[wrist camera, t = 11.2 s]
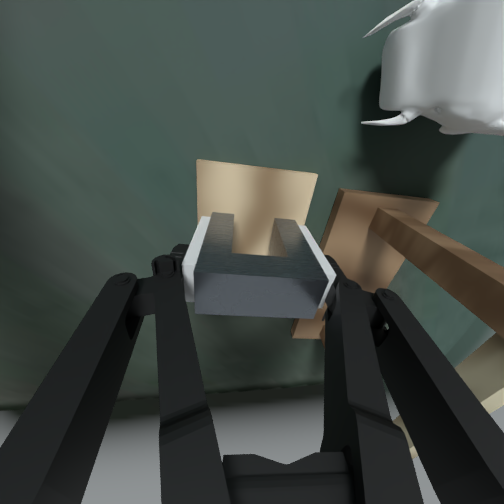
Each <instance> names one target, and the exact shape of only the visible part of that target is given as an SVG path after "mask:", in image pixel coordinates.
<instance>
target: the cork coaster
mask: <svg viewBox="0 0 504 504" xmlns="http://www.w3.org/2000/svg"><path fill="white" fill-rule="evenodd" d="M317 177H318V175H317V174H316V173H307V172H299V171H291V170H283V169H274V168H266V167H258V166H249V165H241V164H233V163H225V162H216V161H208V160H200V159H198V160H197V207H198V224H199V222H200V219H201V217H202V216H206V217H211V215H212V212H218V213H228V214H234V226H233V240H232V253H240V254H253V255H267V256H270V252H269V244H270V239H271V234H272V228H273V223H274V218H281V219H291V220H295V221H296V222H297V224H298V225H303V226H304V224H305V220H306V216H307V213H308V209H309V206H310V202H311V198H312V195H313V191H314V188H315V184H316V180H317Z"/></svg>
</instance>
